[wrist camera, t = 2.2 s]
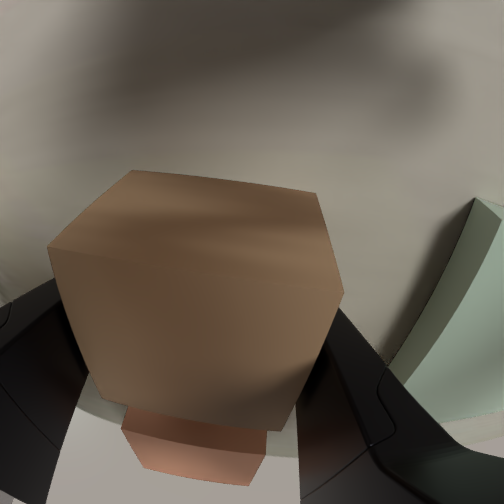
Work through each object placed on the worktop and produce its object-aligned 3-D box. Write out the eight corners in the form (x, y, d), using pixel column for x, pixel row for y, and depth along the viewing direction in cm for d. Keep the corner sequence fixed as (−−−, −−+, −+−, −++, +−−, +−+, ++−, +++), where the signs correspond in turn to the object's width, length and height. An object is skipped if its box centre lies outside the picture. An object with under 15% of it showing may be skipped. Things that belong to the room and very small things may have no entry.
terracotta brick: (269, 365, 12) (265, 454, 9) (253, 418, 15) (248, 486, 11) (150, 346, 12) (120, 428, 9) (161, 403, 15) (144, 467, 11)
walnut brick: (315, 193, 8) (344, 292, 5) (281, 328, 11) (281, 431, 7) (131, 170, 8) (47, 246, 5) (142, 306, 11) (101, 398, 7)
